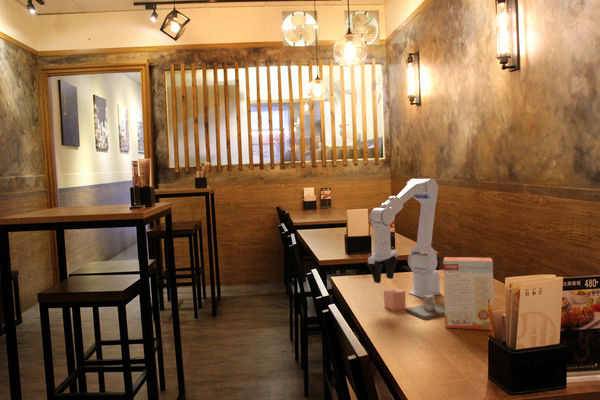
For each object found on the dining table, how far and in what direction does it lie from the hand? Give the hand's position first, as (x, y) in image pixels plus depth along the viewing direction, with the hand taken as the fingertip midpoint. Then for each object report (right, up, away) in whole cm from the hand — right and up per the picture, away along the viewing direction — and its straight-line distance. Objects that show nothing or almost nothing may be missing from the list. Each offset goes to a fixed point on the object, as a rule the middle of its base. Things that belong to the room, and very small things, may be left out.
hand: (383, 280), depth 168 cm
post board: (+14, -9, -8) cm, 19 cm away
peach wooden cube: (+4, -9, -1) cm, 10 cm away
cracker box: (+22, -10, -23) cm, 33 cm away
